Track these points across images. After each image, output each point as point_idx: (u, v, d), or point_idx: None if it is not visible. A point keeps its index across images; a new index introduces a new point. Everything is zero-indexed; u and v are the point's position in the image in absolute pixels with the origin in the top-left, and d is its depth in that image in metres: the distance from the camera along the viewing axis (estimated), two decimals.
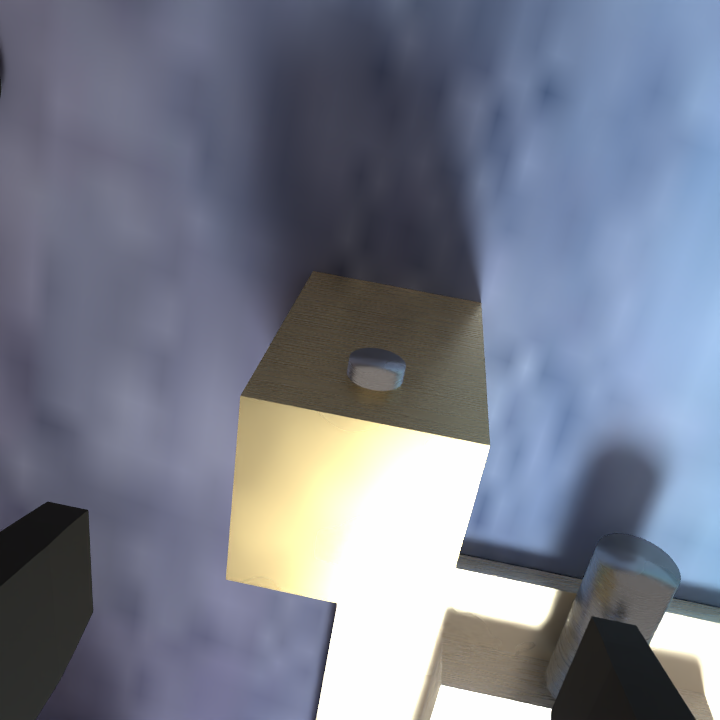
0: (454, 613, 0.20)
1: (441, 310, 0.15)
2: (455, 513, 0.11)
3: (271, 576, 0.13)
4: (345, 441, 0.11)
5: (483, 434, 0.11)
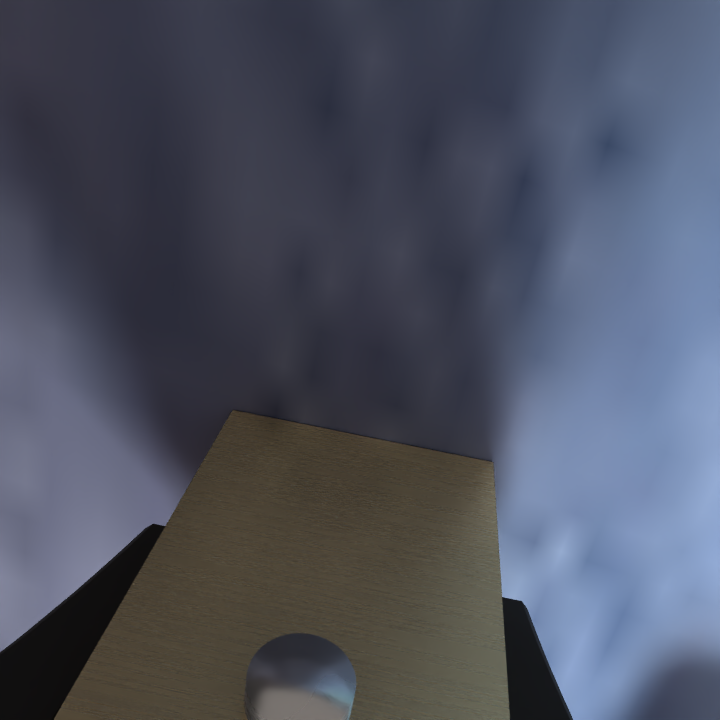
0: None
1: (430, 488, 0.10)
2: None
3: None
4: None
5: None
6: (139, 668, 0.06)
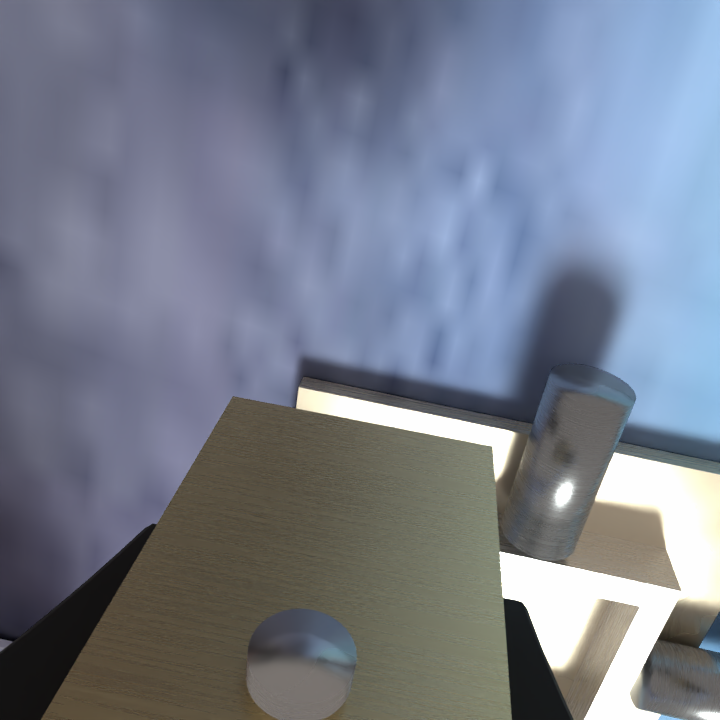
0: None
1: (430, 471, 0.10)
2: None
3: None
4: None
5: None
6: (141, 643, 0.07)
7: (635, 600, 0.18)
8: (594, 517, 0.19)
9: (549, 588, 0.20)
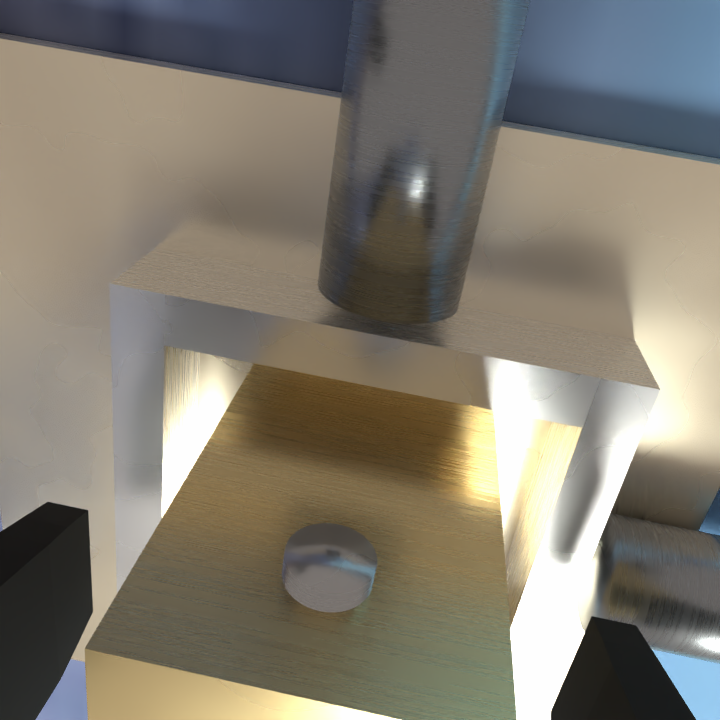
0: (163, 183, 0.10)
1: (437, 423, 0.11)
2: None
3: None
4: None
5: (506, 715, 0.06)
6: (191, 548, 0.08)
7: (572, 414, 0.09)
8: (501, 280, 0.10)
9: None
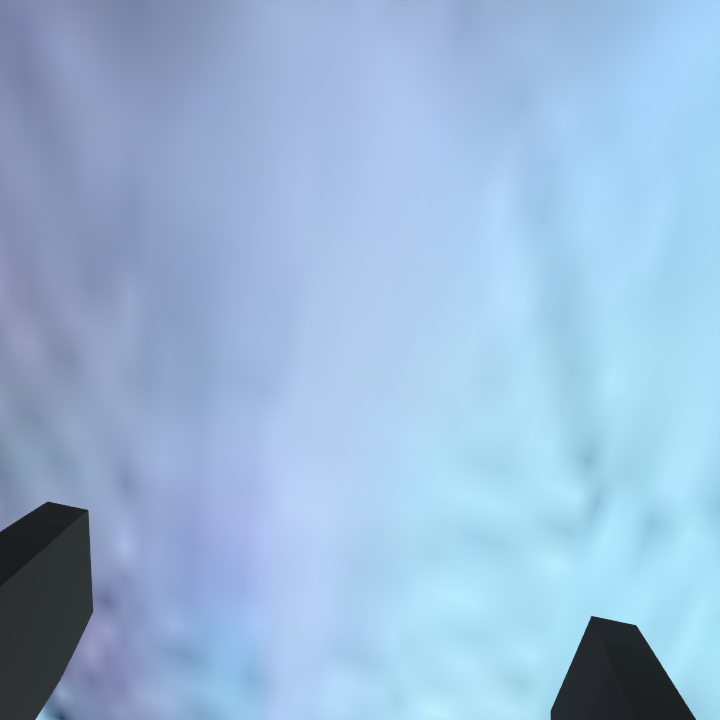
0: None
1: None
2: None
3: None
4: None
5: None
6: None
7: None
8: None
9: None
